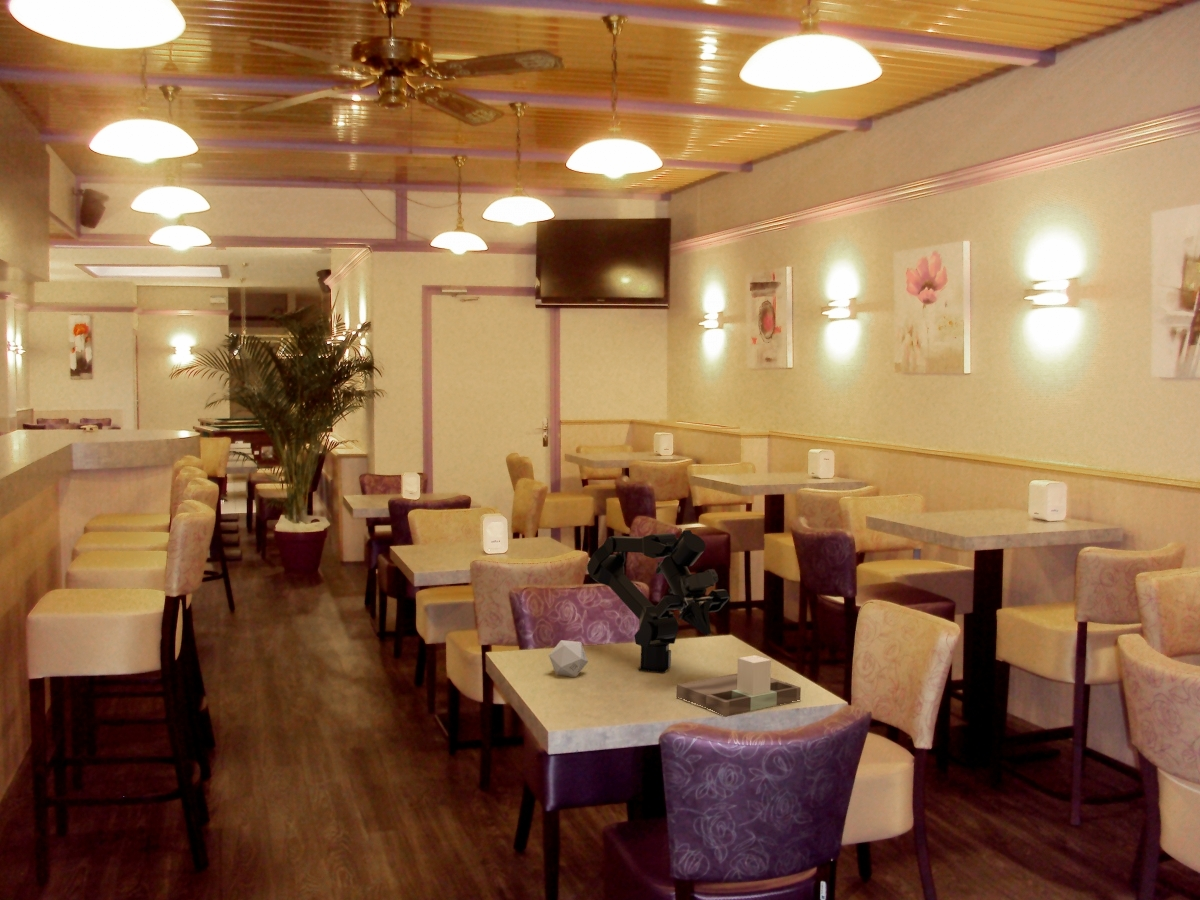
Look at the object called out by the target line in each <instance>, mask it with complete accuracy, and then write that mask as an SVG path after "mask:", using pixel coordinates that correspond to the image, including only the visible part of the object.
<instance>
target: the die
mask: <svg viewBox="0 0 1200 900" xmlns="http://www.w3.org/2000/svg"><path fill="white" fill-rule="evenodd" d="M548 657H549V661H550V662H551V665H552V667H553V671H554V673H555V675H556V676H562V677H563V676H565V677H574V678H577V677H578V675H579V674H580V673H581V672H582V670H583V669H584V667H585V666H586V665H587V664H588V663H589V661H588V660H589V659H588V658H587V655H586V652H585V649H584V646H583V644H582V642H581V641H575V640H574V641H572V640H563V639H561V640H559V642H558V643H557V644H556V646H555V647H554V648H553V649H552V651H550V653H549V654H548Z"/></svg>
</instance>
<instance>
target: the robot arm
mask: <svg viewBox="0 0 1200 900" xmlns="http://www.w3.org/2000/svg"><path fill="white" fill-rule="evenodd" d="M705 550H706V543H705V541H704V539H702V537H700V536H699V535H697V534H695V533H693V532H692V531H691V529H685V530H682V531H681V533H680V535H679V537H677V536H676V534H675V533H673V532H667V533H654V534H648V535H644V536H624V535H612V536H608V537H606V539H605V540H604V542H603V544H602V545H601V546H600V547H599V548H597V549H596V550H595V551H594V552H593V553H592V555H591V557H590V559H589V560H588V563H587V566H586V570H587V572H588V575H589V576H590V578H591V579H593V580H594V581H595V582H597V583H598V584H601V585H603V586H607V587H609V588H610V589H611V591H613V592H614V593H615V595H617V596H618V598H619V599H620V600H621V601H622V602H623V603H624V605H625V606H626V607H627V608H628V609H629V610H630V611H631V612H632V613H633V614H634V615H635V616H636V617H637V619H638V627H639V629H638V630H637V632H636V633H635V634H634V635H633V636H634V641H635V644H636V645H638V646H640V667H639V668H638V671H641V672H651V673H666V672H667V671H668V670H669V669H670V668H671V665H672V650H671V649H670V645H671V644H672V645H675V642H676V639H677V635H678V632H679V622H678V621H679V620H682V621H684V622H685V623H687V624H689V625H690V626H692V627H694V628H695V629H696V630H698V631H699V632H700V633H702V634H703V635H704V636H710V635H711V634H712V630H711V623H710V613H715V612H719V611H720V610H721V609H723V607H724V606H725V605H726V603H727V602H728V601H730V599H731V596H730V595H729V592H728V591H727V590H726V589H724V588H722V589H714V590H711V591H710V592H709V593H708V594H707V596H703V595H705V594H706V592H707V588H710V587H714V586H716V583H718V582H719V576H718V573H717V572H716V571H715V569H714V568H712V569H710V568H709V569H707V570H704V571H703V572H697V573H693V574H691V572H690V570H689V568H688V567H692V566H694V564H695V563H696V562H697V560H698V559H699V558H700V556H701V555H702V554H703V553H704V551H705ZM612 553H616V554H612ZM626 553H640V554H643V555H644V557H646V558H647V557H648V558H650V559H662V558H663V560H661V562H657V566H656V568H655V574H656V575H661V574H663V576H664V578H665V580H666V581H667V584H668V586H669V588H668V589H667V591H668V593H669V595H664V596H662V598H661V599H660V600H659V602H658V603H657V604H656V605H654V604H653V603H652V602H651V601H650V600H649V599H648V597H647V596H645V594H643V592H642V591H641V590H640V589H639V588H638V587H637V586H636V585H635V584H634V583H633V582H632V580H630V578H628V575H625V566H624V565H625V563H626V560H627V558H626ZM673 610H674V611H675V610H678V611H679V615H678V616H677V618H678V619H677V618H676V616H675V613H674V612H672V611H673Z"/></svg>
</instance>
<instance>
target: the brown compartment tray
mask: <svg viewBox="0 0 1200 900" xmlns="http://www.w3.org/2000/svg"><path fill="white" fill-rule="evenodd" d="M737 674H738V673H733V674H727V675H722V676H716V677H711V678H705V679H700V680H694V681H688V682H683V683H676V691H675V693H676V696H675V697H679V698H682V699H685V700H687V701H690V702H693V703H696V704H698V705H701V706H703V707H706V708H708V709H711V710H713V711H715V712H717V713H719V714H718V715H720V714H721V715H720V716H722V715H723V716H722V717H730V716H734V715H739V714H743V712H744V713H748V711H749V712H753V711H752V710H754V711H757V710H756V709H759V710H762V709H761V708H763V709H767V708H766V707H768V708H771V707H770V706H773V707H776V706H775V705H778V706H781V705H780V704H783V705H785V704H784V703H788V704H790V703H789V702H792V701H797V700H800V701H801V691H802V689H801V688H802V687H801V686H799V685H795V684H792V683H788V682H786V681H782V680H779V679H776V678H773V677H771V678H770V692H768V693H763V694H758V695H750V694H747V693H744V692H741V691H739V690H737ZM797 702H798V701H797ZM717 713H716V714H717Z"/></svg>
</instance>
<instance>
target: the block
mask: <svg viewBox="0 0 1200 900" xmlns="http://www.w3.org/2000/svg"><path fill="white" fill-rule="evenodd" d="M771 669H772V660H771V659H769V658H765V657H762V656H759V655H757V654H756V655H755V654H754V655H748V656H743V657H742V656H741V657H738V658H737V673H736V674H737V690H739V691H741V692H744V693H747V694H750V695H758V694H763V693H768V692H770V678H772V676H771V674H772V673H771V672H772V671H771Z"/></svg>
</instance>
